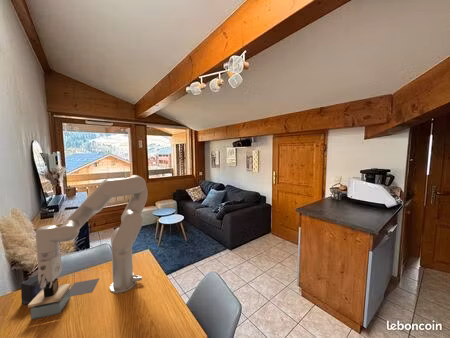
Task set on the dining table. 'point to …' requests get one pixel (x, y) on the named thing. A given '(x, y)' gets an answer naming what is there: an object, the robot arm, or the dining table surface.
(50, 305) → the open box
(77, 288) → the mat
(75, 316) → the dining table surface
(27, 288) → the small box
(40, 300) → the lid
